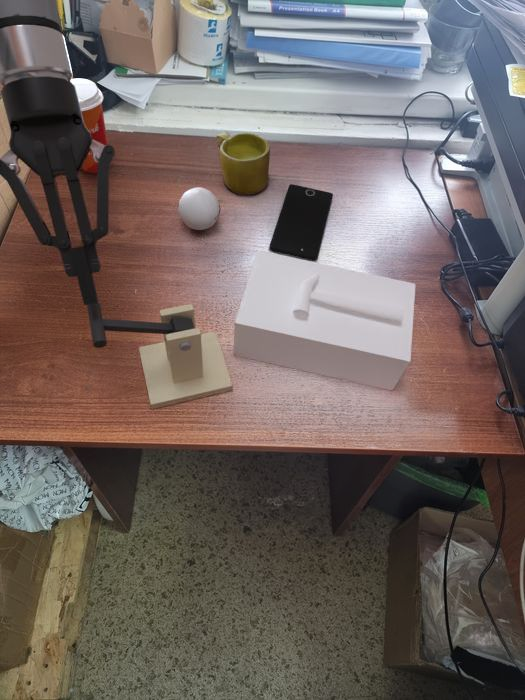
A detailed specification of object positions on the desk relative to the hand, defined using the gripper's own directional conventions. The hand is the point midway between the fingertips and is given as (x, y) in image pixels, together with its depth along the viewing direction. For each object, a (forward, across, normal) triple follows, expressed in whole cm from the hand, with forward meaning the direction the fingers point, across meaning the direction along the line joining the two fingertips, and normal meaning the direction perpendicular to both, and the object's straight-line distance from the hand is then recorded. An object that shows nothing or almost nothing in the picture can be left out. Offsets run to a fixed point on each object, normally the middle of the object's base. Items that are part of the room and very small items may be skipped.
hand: (91, 302), depth 59 cm
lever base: (+14, -10, -12) cm, 21 cm away
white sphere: (-8, -20, -34) cm, 40 cm away
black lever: (+5, -5, -4) cm, 8 cm away
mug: (-15, -30, -41) cm, 53 cm away
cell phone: (-4, -38, -31) cm, 49 cm away
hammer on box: (+13, -32, -13) cm, 37 cm away
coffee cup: (-22, -3, -48) cm, 53 cm away
